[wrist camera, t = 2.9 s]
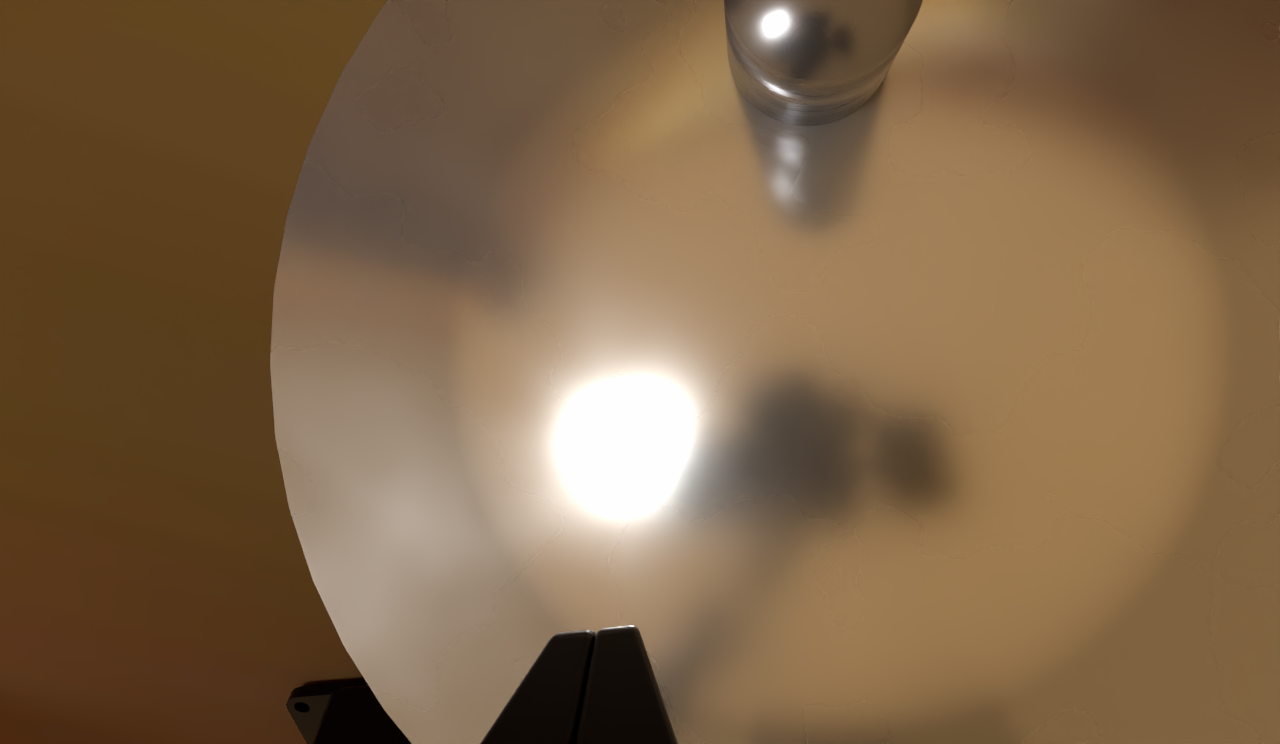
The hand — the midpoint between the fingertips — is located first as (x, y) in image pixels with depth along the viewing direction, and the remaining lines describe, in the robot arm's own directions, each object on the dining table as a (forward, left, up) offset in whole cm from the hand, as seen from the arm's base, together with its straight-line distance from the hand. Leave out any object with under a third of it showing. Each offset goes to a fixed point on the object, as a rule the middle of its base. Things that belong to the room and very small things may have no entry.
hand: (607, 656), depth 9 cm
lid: (-1, -3, -4) cm, 5 cm away
